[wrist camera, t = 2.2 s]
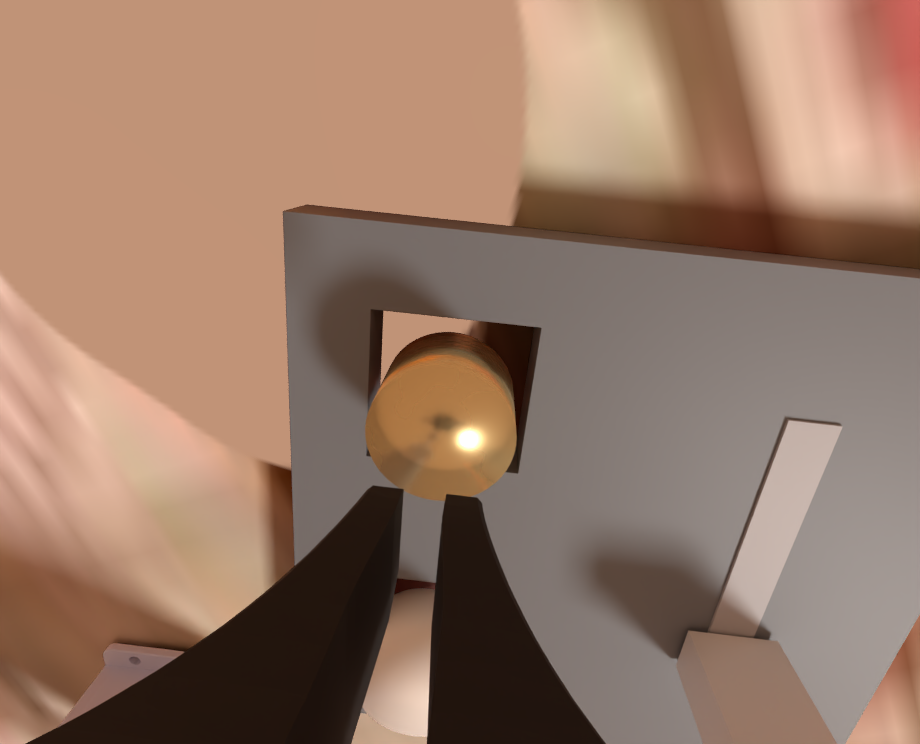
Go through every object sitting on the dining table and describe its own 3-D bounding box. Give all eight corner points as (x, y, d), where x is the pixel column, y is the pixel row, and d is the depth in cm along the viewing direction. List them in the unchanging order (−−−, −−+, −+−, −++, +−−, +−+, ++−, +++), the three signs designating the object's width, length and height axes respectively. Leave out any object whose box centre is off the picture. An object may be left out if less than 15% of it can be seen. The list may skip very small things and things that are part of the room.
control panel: (314, 662, 24) (298, 707, 22) (306, 204, 16) (281, 211, 14) (802, 723, 24) (830, 774, 22) (1031, 280, 16) (1105, 298, 14)
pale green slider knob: (672, 667, 20) (721, 811, 15) (686, 628, 19) (742, 768, 15) (764, 678, 20) (839, 826, 15) (781, 639, 19) (866, 783, 15)
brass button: (382, 441, 17) (363, 492, 15) (388, 325, 16) (366, 358, 13) (504, 455, 17) (506, 508, 15) (521, 339, 16) (526, 376, 13)
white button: (373, 658, 21) (356, 728, 19) (376, 581, 20) (359, 646, 17) (472, 671, 21) (469, 743, 19) (484, 595, 20) (482, 662, 17)
